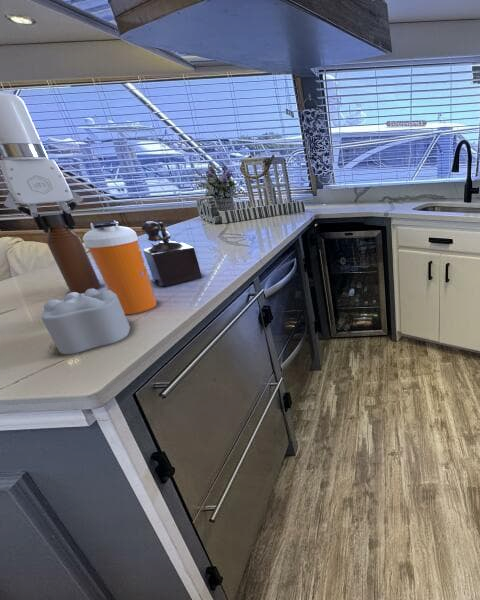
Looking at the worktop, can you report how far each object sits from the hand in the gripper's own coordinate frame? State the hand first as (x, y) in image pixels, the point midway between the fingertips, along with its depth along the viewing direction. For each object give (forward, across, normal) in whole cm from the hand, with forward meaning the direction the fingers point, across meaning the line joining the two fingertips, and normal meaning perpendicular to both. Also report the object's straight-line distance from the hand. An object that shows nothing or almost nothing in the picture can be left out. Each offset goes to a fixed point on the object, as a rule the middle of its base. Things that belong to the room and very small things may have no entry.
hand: (59, 229), depth 83 cm
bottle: (+17, 0, 0) cm, 17 cm away
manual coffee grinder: (+17, +18, -17) cm, 30 cm away
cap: (-1, 0, 0) cm, 1 cm away
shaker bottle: (+17, +4, -30) cm, 35 cm away
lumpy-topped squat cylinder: (+17, -5, -39) cm, 43 cm away
